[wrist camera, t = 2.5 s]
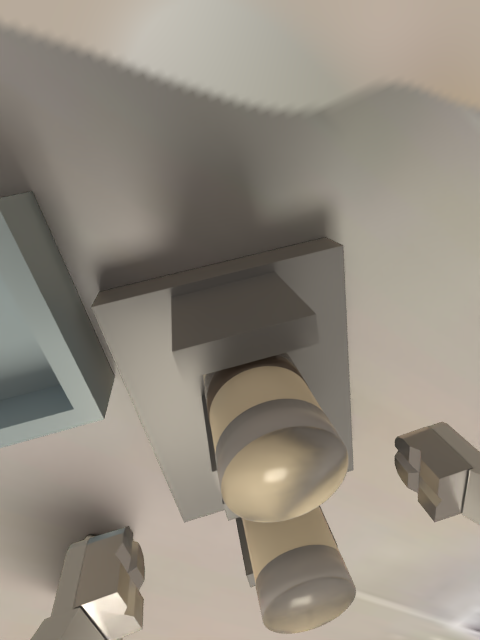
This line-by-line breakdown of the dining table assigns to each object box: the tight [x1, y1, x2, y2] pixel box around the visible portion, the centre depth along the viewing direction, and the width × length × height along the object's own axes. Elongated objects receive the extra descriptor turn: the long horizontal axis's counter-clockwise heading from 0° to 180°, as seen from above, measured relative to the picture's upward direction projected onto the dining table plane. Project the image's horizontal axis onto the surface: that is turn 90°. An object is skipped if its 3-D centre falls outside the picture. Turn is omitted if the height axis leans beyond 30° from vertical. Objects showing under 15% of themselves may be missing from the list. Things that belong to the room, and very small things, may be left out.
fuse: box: [242, 506, 356, 634], centre depth 17 cm, size 4×4×8 cm
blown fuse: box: [203, 353, 349, 523], centre depth 14 cm, size 4×4×8 cm
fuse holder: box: [91, 237, 353, 587], centre depth 18 cm, size 12×16×7 cm
